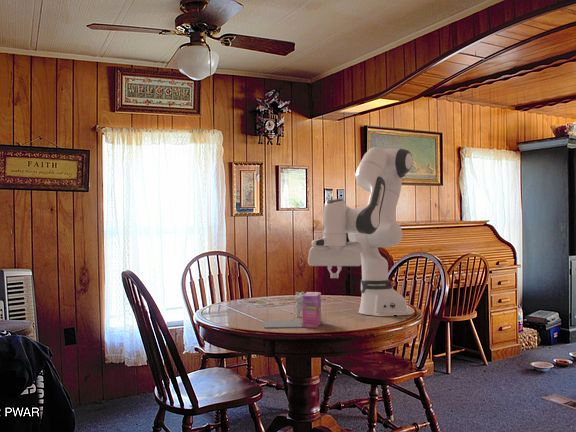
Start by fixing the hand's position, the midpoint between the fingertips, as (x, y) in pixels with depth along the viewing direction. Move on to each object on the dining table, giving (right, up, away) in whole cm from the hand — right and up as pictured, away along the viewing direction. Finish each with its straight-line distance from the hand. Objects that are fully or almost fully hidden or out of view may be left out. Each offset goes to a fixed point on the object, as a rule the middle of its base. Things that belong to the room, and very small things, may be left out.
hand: (334, 278), depth 196 cm
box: (-8, -18, 0) cm, 20 cm away
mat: (-19, -18, 0) cm, 26 cm away
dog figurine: (-11, -18, +19) cm, 28 cm away
